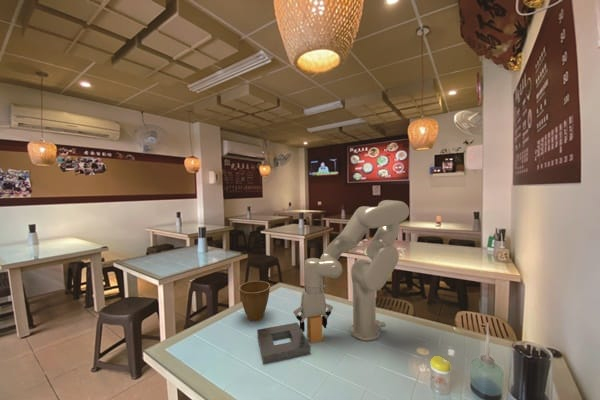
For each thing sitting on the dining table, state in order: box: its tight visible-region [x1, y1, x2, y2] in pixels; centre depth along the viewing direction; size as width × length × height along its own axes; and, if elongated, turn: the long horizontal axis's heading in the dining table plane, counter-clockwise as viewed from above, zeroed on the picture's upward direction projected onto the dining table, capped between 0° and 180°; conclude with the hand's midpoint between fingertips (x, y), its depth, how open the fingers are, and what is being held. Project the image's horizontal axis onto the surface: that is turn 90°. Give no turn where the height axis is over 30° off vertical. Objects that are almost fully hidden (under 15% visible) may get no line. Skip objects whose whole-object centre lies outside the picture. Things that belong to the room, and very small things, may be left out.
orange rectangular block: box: [306, 315, 323, 344], centre depth 105 cm, size 5×5×10 cm
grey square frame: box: [256, 322, 311, 365], centre depth 101 cm, size 18×18×3 cm
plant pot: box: [238, 280, 271, 322], centre depth 122 cm, size 15×15×16 cm
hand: (313, 328), depth 105 cm, fingers open, 9 cm apart
